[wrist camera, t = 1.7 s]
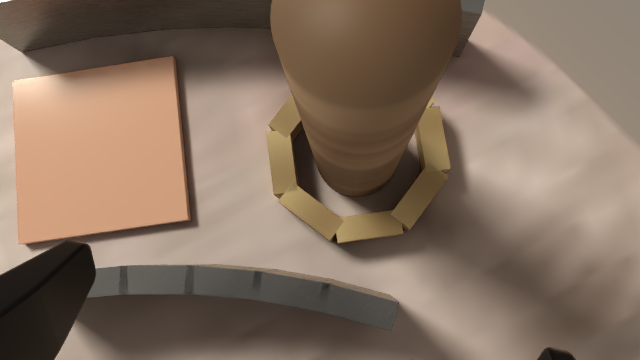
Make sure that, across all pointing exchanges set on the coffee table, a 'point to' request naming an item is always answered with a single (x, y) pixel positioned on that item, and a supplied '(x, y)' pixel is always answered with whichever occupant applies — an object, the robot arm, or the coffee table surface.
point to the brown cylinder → (361, 104)
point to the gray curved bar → (209, 280)
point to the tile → (99, 151)
